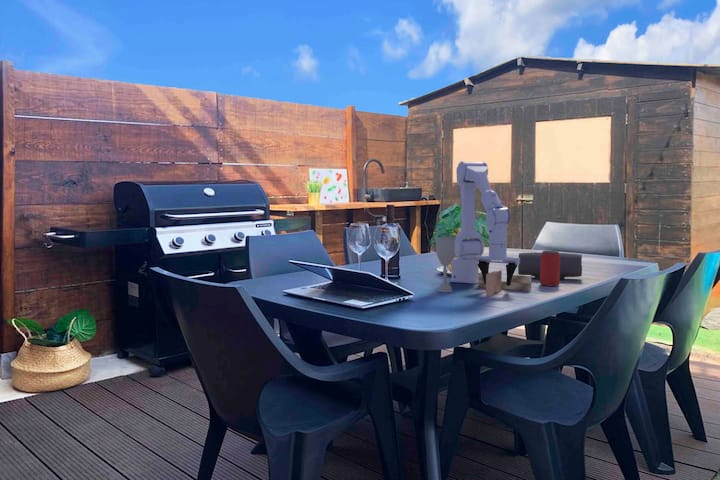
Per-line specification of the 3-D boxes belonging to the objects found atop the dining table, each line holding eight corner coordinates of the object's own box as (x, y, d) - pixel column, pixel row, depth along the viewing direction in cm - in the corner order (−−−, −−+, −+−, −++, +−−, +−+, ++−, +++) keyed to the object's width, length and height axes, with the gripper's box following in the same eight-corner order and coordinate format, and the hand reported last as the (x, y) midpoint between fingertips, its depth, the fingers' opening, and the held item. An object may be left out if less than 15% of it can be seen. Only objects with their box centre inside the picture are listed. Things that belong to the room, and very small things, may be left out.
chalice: (431, 291, 206) (431, 238, 204) (438, 288, 212) (438, 236, 210) (452, 293, 202) (452, 238, 201) (458, 290, 208) (458, 237, 207)
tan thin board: (485, 296, 197) (486, 274, 196) (497, 290, 207) (498, 269, 206) (489, 296, 196) (489, 274, 195) (501, 290, 206) (501, 270, 206)
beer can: (555, 287, 212) (556, 252, 211) (536, 285, 216) (537, 251, 215) (562, 285, 217) (563, 251, 216) (544, 283, 221) (545, 250, 220)
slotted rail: (478, 286, 215) (478, 272, 214) (480, 286, 216) (480, 272, 216) (529, 290, 205) (529, 276, 205) (531, 290, 207) (531, 275, 207)
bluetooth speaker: (517, 279, 231) (518, 253, 230) (519, 276, 240) (519, 250, 239) (581, 281, 225) (582, 254, 224) (580, 277, 234) (581, 251, 233)
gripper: (472, 244, 203) (472, 284, 205) (515, 245, 196) (515, 287, 197) (479, 242, 209) (479, 281, 211) (522, 244, 202) (521, 284, 203)
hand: (497, 284), depth 204 cm, fingers open, 7 cm apart
